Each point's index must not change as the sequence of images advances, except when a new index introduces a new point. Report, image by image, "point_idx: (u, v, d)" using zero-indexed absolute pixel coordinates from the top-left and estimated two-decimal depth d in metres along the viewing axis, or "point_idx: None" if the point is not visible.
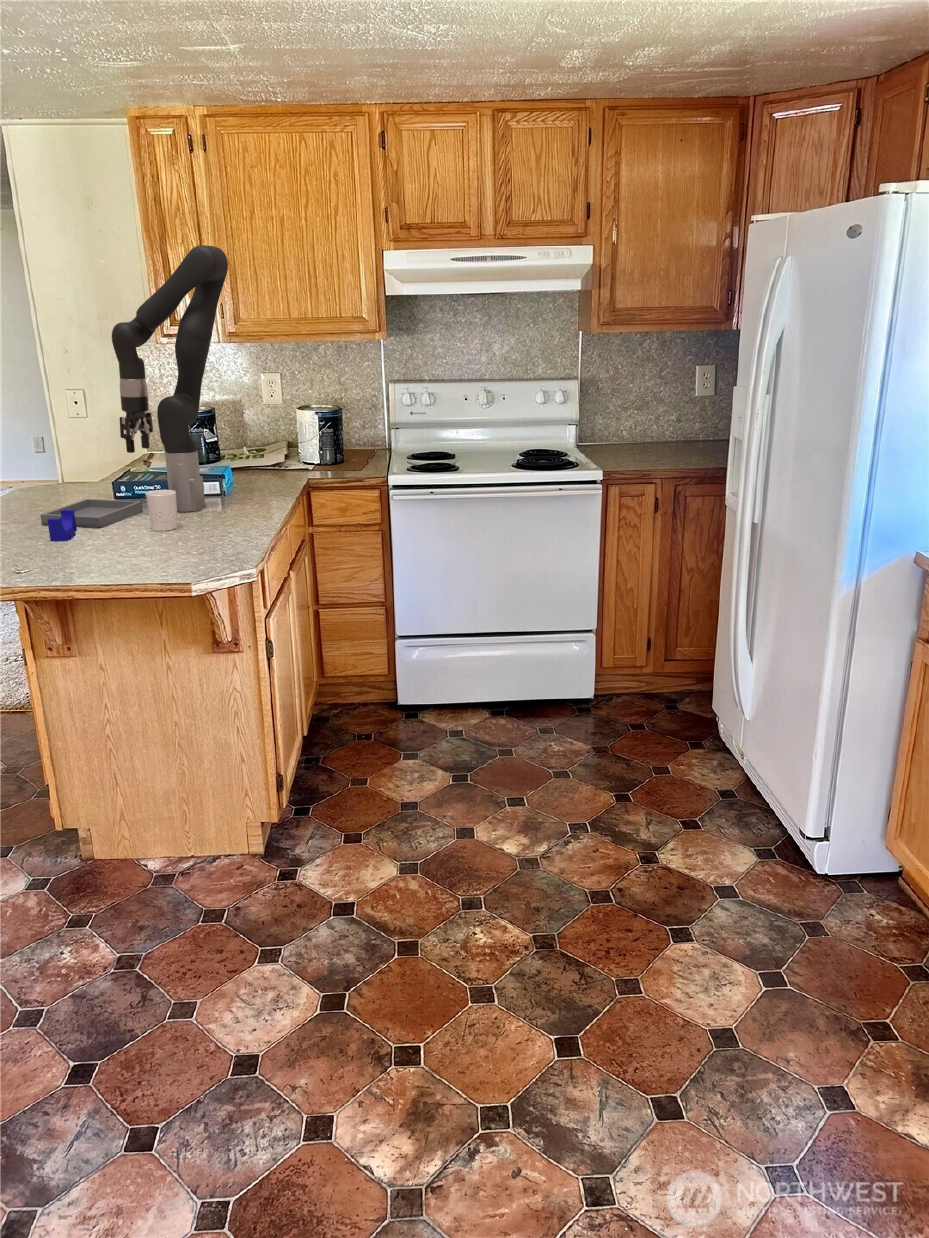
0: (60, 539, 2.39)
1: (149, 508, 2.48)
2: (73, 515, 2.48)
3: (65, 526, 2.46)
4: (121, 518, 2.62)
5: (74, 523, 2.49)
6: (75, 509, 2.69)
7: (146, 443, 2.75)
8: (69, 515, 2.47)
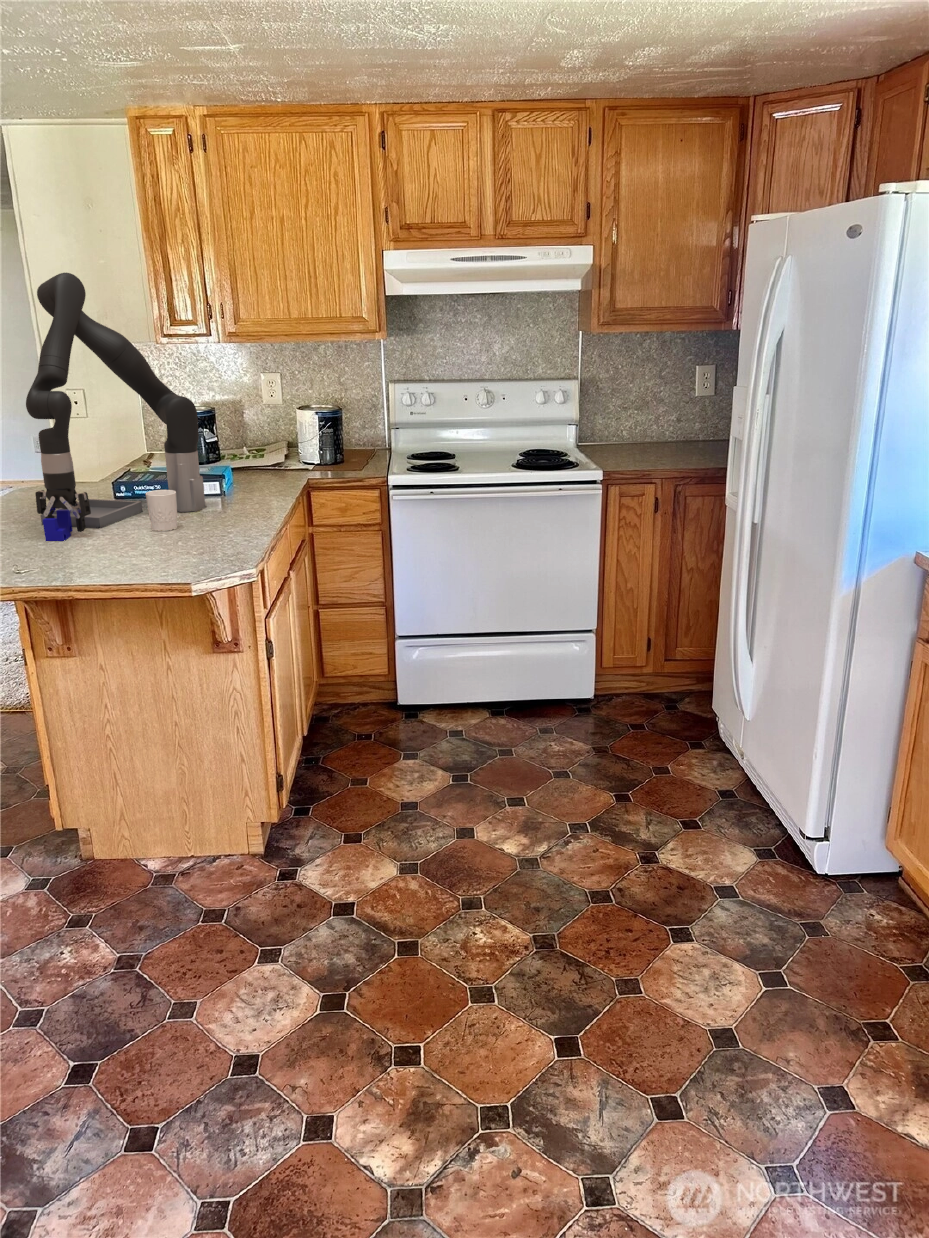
0: (55, 539, 2.39)
1: (149, 508, 2.48)
2: (69, 515, 2.48)
3: (61, 526, 2.46)
4: (121, 518, 2.62)
5: (70, 523, 2.48)
6: None
7: None
8: (65, 515, 2.47)
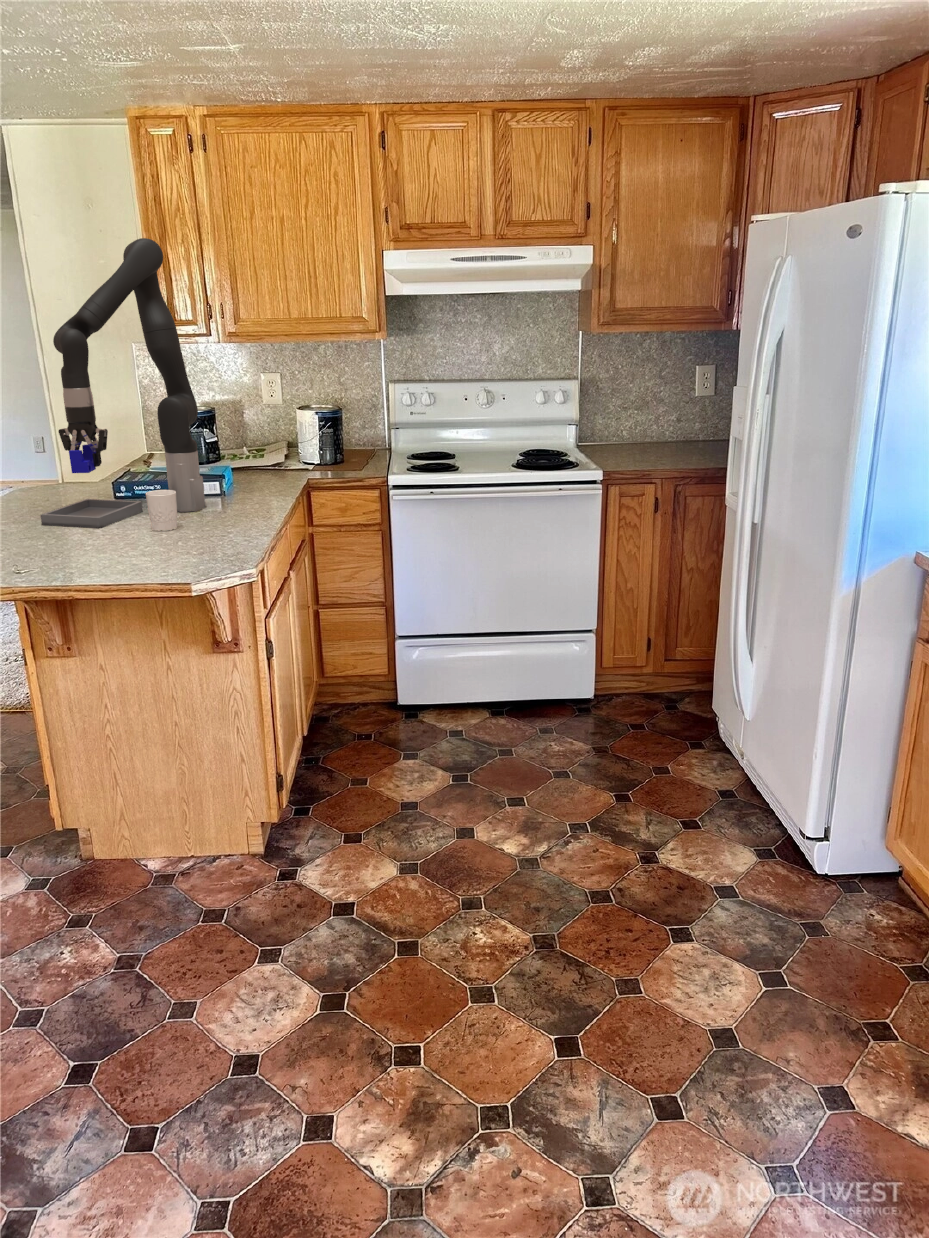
0: (81, 470, 2.53)
1: (149, 508, 2.48)
2: None
3: (86, 460, 2.60)
4: (121, 518, 2.62)
5: None
6: (75, 509, 2.69)
7: None
8: (90, 450, 2.61)
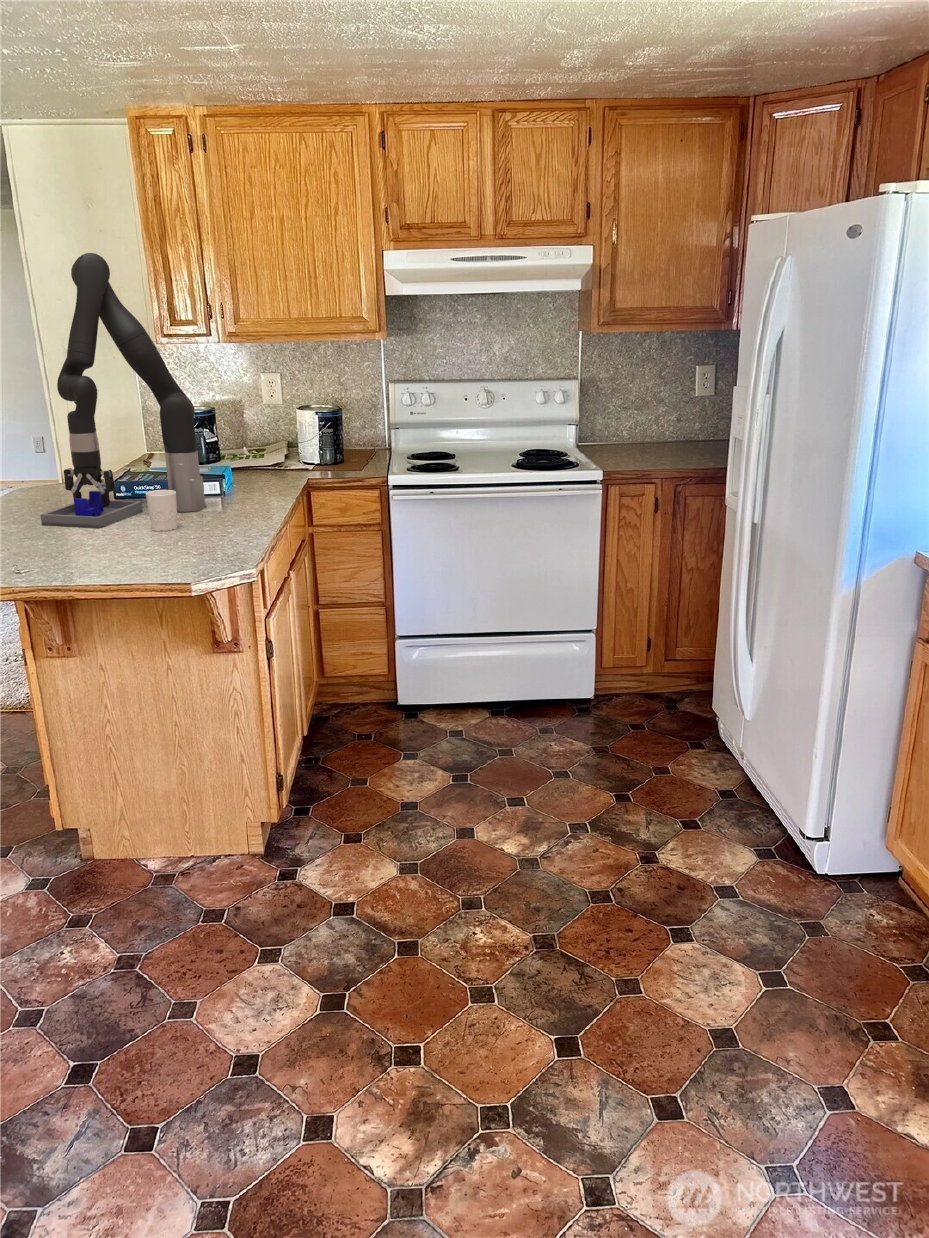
0: None
1: (149, 508, 2.48)
2: (100, 496, 2.67)
3: (92, 506, 2.65)
4: (121, 518, 2.62)
5: (101, 504, 2.67)
6: None
7: None
8: (96, 496, 2.66)
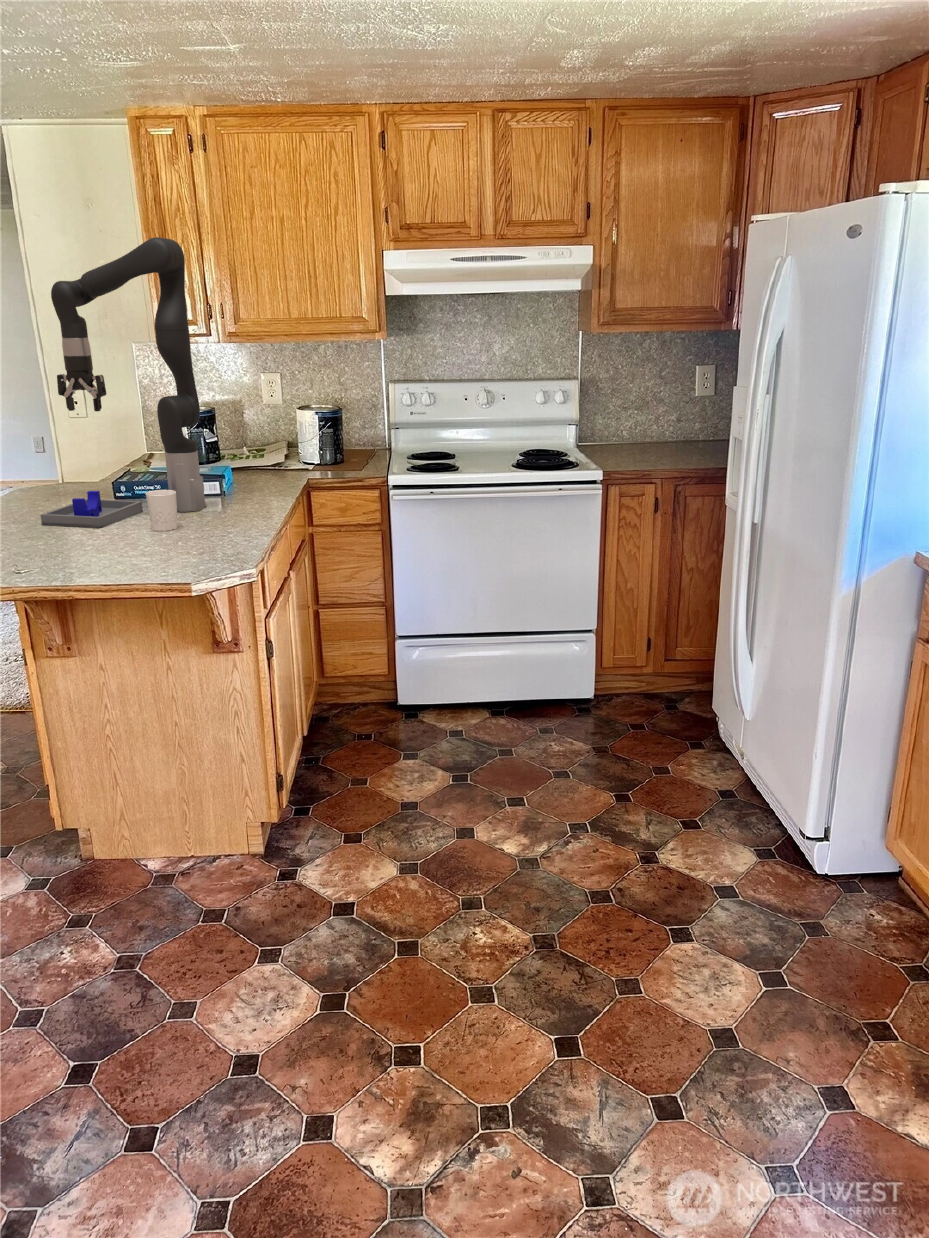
0: None
1: (149, 508, 2.48)
2: (98, 496, 2.67)
3: (90, 506, 2.65)
4: (121, 518, 2.62)
5: (99, 504, 2.67)
6: None
7: (73, 405, 2.74)
8: (94, 496, 2.66)
